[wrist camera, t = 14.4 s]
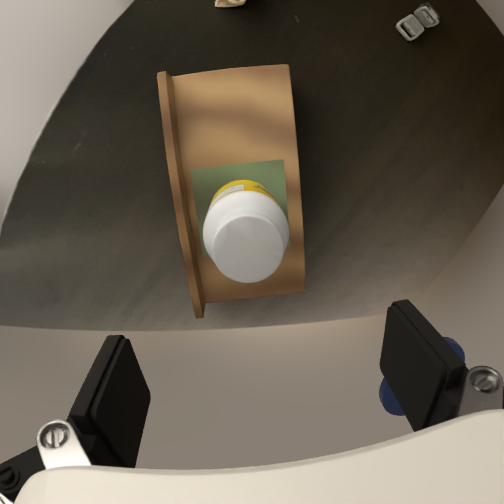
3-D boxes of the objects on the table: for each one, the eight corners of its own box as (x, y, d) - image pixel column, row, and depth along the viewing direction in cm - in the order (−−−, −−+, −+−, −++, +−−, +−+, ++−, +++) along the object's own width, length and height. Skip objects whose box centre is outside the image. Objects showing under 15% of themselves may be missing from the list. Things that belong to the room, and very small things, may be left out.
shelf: (296, 269, 41) (312, 304, 32) (202, 280, 41) (195, 318, 32) (279, 75, 32) (294, 57, 24) (174, 87, 32) (156, 72, 24)
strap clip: (407, 43, 31) (424, 37, 27) (392, 26, 30) (408, 17, 26) (439, 18, 29) (456, 11, 25) (425, 1, 28) (441, -7, 24)
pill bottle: (278, 236, 33) (302, 289, 22) (215, 245, 33) (208, 302, 22) (271, 173, 30) (294, 195, 19) (204, 182, 30) (189, 209, 19)
